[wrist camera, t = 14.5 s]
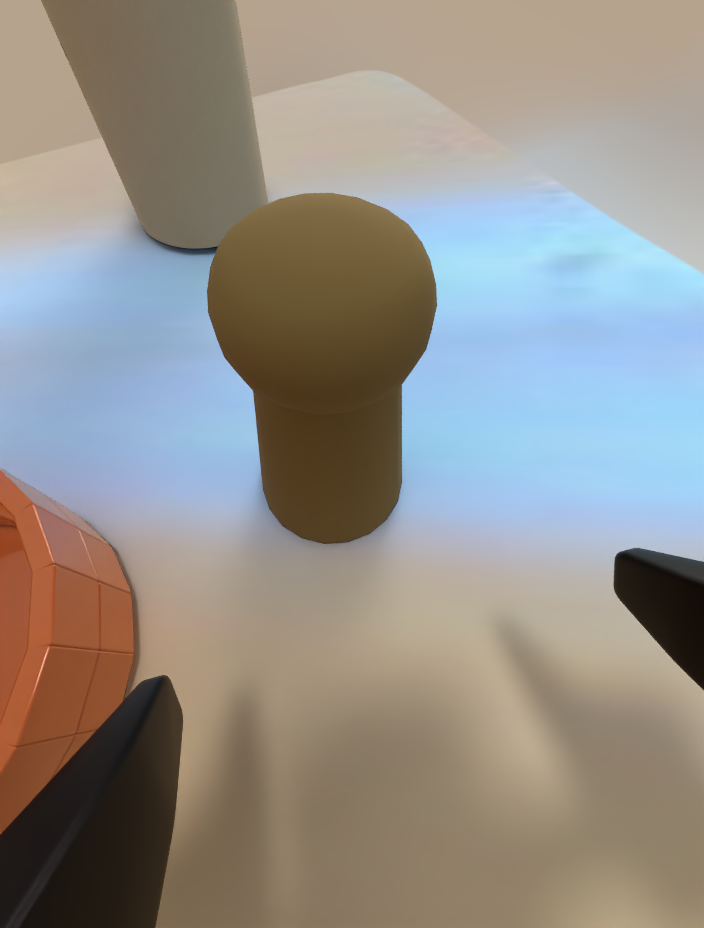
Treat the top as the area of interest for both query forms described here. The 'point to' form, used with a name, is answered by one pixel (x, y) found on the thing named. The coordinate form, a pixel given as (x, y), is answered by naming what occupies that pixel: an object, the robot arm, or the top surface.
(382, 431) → the cork
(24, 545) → the orange brown bowl
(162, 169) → the travel mug
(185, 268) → the top surface
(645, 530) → the top surface
